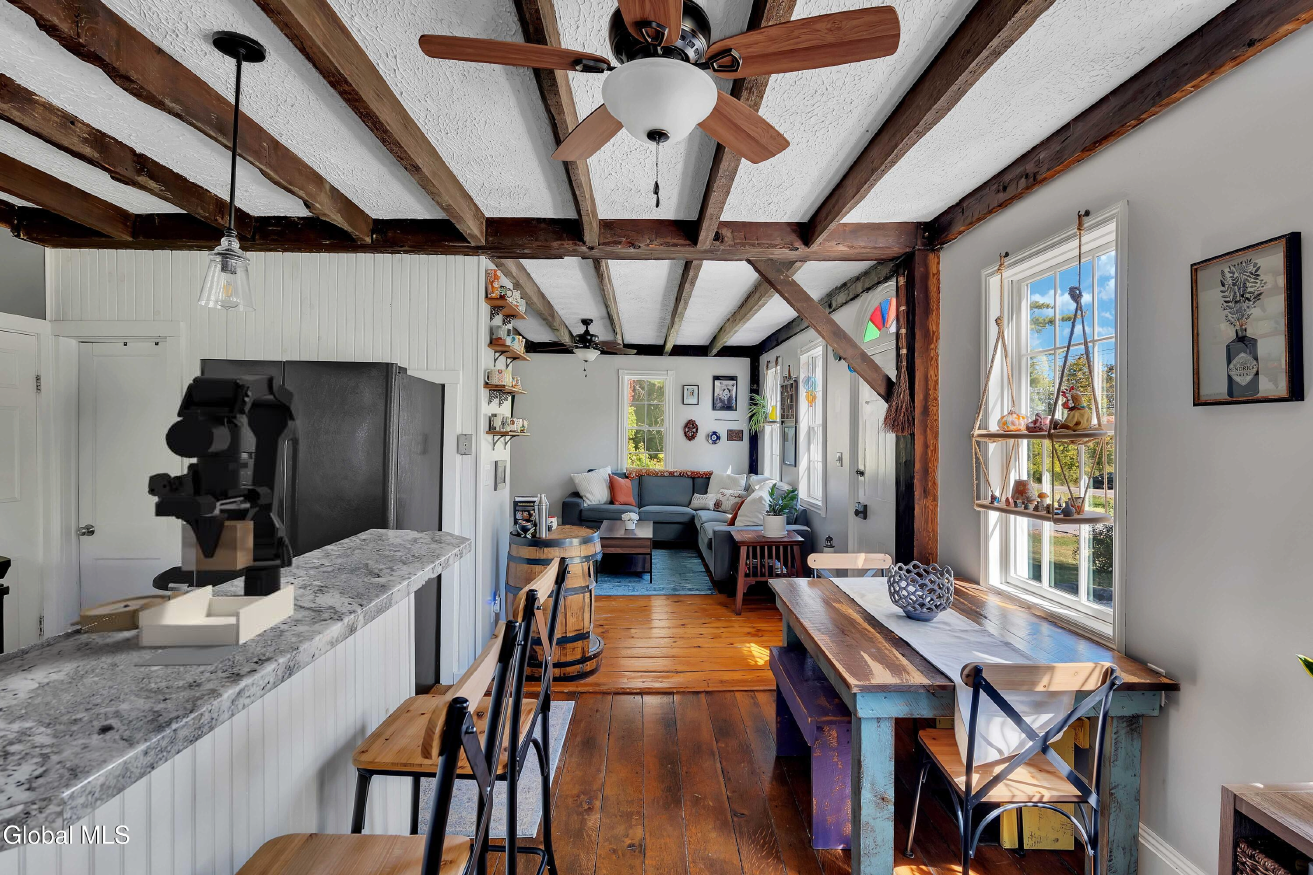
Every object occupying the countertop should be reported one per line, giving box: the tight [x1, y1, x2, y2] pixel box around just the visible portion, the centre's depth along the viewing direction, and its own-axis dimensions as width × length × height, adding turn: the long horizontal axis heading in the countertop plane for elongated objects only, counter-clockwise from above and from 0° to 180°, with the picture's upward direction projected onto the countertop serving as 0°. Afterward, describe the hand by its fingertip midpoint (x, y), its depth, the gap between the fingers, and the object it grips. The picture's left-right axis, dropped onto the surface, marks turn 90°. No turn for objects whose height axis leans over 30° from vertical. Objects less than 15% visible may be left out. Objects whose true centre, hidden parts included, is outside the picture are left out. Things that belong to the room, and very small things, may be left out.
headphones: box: [69, 590, 185, 634], centre depth 97 cm, size 11×5×15 cm
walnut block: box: [181, 521, 253, 571], centre depth 91 cm, size 4×8×7 cm, turn 95°
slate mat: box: [133, 644, 245, 667], centre depth 82 cm, size 7×10×1 cm
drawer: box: [138, 584, 295, 647], centre depth 94 cm, size 15×14×6 cm
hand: (218, 555), depth 91 cm, fingers closed on walnut block, 4 cm apart
